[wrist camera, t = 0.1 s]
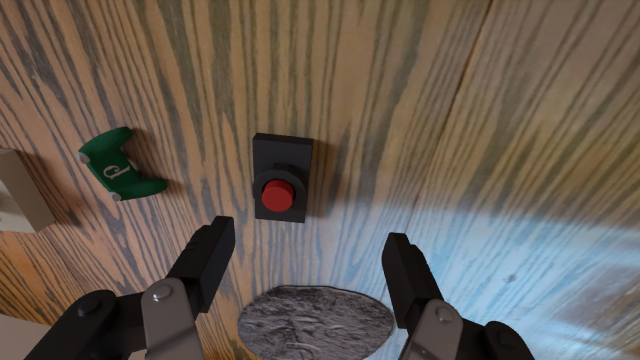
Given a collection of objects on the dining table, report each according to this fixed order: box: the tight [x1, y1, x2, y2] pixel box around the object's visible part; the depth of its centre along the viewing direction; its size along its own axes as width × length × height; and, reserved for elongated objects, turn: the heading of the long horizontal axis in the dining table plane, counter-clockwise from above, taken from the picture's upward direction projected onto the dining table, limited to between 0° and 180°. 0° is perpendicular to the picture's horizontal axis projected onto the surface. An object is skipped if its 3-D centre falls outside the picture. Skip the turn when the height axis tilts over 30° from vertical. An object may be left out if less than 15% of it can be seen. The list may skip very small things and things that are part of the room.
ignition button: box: [262, 180, 294, 212], centre depth 29 cm, size 4×4×2 cm
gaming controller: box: [77, 127, 168, 201], centre depth 31 cm, size 9×4×6 cm
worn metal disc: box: [237, 286, 393, 360], centre depth 54 cm, size 33×35×1 cm
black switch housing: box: [252, 133, 313, 223], centre depth 31 cm, size 12×7×4 cm, turn 174°
